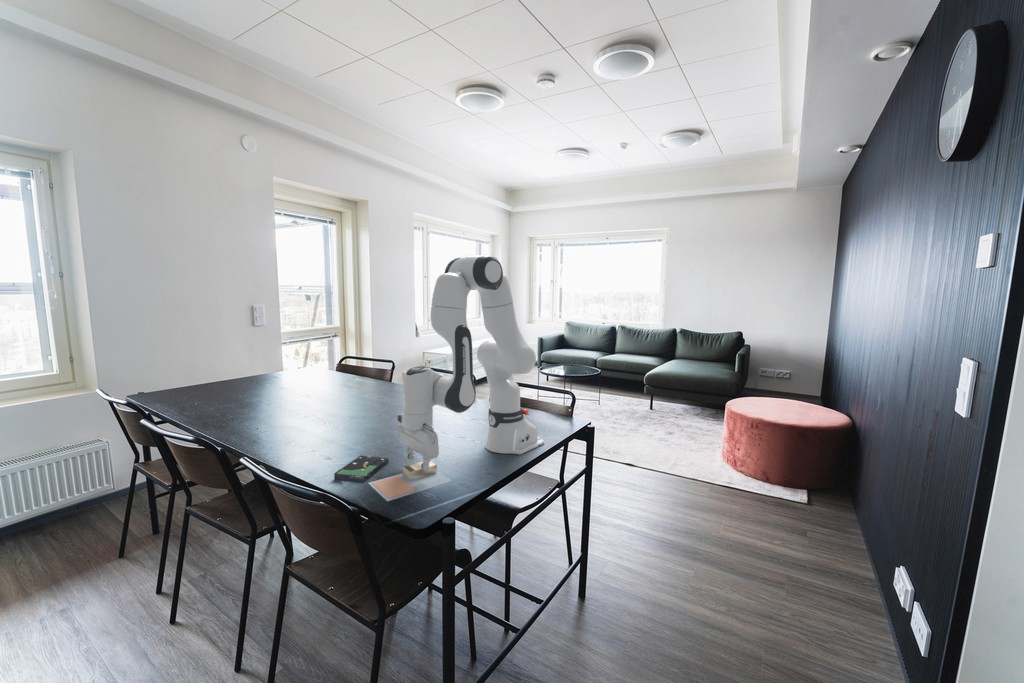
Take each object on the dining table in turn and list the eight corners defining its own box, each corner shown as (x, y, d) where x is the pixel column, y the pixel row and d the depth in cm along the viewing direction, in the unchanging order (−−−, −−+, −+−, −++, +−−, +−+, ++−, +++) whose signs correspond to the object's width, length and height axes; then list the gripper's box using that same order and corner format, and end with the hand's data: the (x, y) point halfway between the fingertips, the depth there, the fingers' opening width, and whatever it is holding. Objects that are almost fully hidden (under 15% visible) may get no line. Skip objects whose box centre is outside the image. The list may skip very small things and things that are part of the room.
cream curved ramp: (429, 467, 137) (429, 459, 136) (436, 472, 133) (436, 464, 133) (402, 474, 131) (402, 466, 131) (410, 480, 127) (410, 472, 127)
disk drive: (360, 463, 143) (333, 481, 128) (360, 455, 142) (333, 472, 128) (389, 465, 141) (365, 485, 126) (388, 457, 140) (365, 475, 126)
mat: (429, 467, 138) (429, 465, 138) (451, 483, 127) (451, 480, 127) (367, 484, 125) (367, 482, 125) (387, 503, 115) (387, 500, 114)
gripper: (444, 427, 124) (443, 473, 125) (412, 411, 140) (412, 452, 141) (424, 430, 120) (424, 478, 121) (394, 414, 136) (394, 456, 137)
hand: (417, 464), depth 131 cm, fingers open, 8 cm apart
